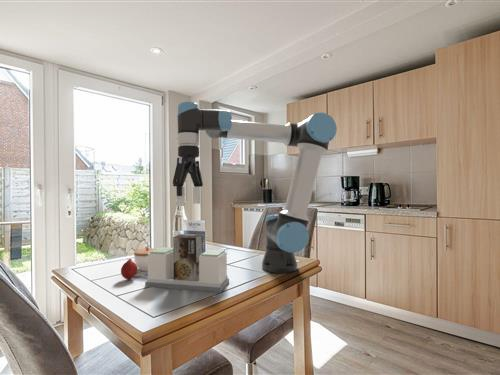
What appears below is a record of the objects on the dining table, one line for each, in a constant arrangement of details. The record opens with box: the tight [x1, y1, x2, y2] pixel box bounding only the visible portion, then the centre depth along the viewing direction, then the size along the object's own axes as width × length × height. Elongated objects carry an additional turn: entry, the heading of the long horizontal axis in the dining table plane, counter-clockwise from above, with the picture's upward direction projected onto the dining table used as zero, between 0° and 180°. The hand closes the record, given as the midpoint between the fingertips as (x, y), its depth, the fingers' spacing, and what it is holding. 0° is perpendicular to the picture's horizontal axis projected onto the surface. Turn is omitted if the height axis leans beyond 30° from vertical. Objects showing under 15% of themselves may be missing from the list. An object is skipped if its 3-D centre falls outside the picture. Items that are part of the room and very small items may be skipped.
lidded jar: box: [133, 246, 157, 272], centre depth 121 cm, size 11×11×9 cm
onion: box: [120, 258, 139, 281], centre depth 106 cm, size 6×6×8 cm
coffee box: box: [172, 233, 204, 281], centre depth 101 cm, size 9×6×16 cm
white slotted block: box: [144, 246, 230, 293], centre depth 101 cm, size 28×10×12 cm, turn 77°
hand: (189, 204), depth 101 cm, fingers open, 13 cm apart
